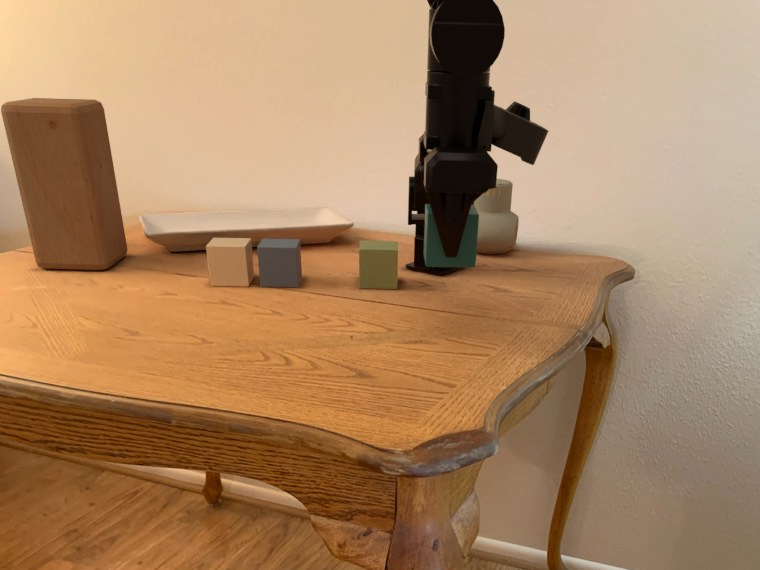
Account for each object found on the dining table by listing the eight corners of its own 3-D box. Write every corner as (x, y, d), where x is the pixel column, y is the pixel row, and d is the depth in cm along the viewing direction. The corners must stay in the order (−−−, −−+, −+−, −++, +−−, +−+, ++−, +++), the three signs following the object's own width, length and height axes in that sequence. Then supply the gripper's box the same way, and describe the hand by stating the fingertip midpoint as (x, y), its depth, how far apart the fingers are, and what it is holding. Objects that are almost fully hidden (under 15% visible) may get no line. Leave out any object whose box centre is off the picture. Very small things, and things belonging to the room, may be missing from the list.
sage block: (396, 279, 105) (397, 241, 102) (397, 289, 101) (397, 249, 98) (360, 278, 105) (360, 240, 102) (359, 288, 101) (358, 248, 98)
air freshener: (466, 241, 126) (471, 174, 120) (517, 244, 125) (523, 177, 119) (457, 256, 117) (461, 185, 111) (511, 260, 116) (517, 188, 110)
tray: (141, 234, 125) (137, 211, 123) (328, 225, 134) (327, 204, 132) (149, 258, 111) (145, 233, 110) (356, 246, 121) (355, 223, 119)
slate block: (302, 277, 105) (300, 239, 102) (298, 287, 100) (296, 247, 98) (265, 277, 105) (262, 238, 102) (260, 286, 100) (256, 246, 98)
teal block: (470, 255, 81) (474, 204, 78) (475, 267, 77) (479, 214, 74) (423, 254, 81) (425, 203, 78) (425, 266, 77) (427, 213, 74)
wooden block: (107, 272, 105) (77, 104, 94) (34, 270, 105) (-5, 102, 94) (130, 255, 113) (105, 99, 102) (63, 253, 113) (30, 97, 102)
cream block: (254, 276, 104) (251, 238, 102) (248, 286, 100) (245, 246, 98) (217, 276, 104) (213, 237, 102) (210, 285, 100) (205, 245, 97)
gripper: (566, 79, 62) (543, 276, 71) (530, 69, 77) (514, 231, 86) (429, 76, 62) (422, 274, 70) (420, 66, 77) (416, 230, 86)
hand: (449, 250), depth 78 cm, fingers closed on teal block, 5 cm apart
